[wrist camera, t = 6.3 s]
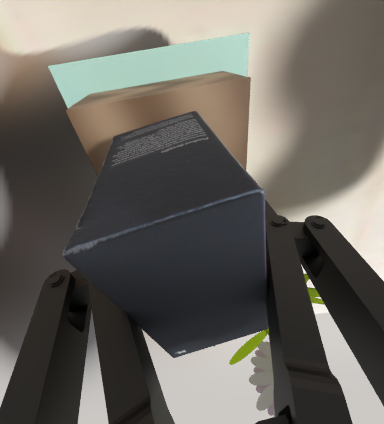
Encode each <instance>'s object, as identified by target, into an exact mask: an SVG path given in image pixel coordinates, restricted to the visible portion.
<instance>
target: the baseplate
mask: <svg viewBox="0 0 384 424" xmlns="http://www.w3.org/2000/svg"><path fill="white" fill-rule="evenodd" d="M248 47H249V33H244V34H238V35H232V36H226V37H220V38H214V39H208V40H202V41H196V42H190V43H184V44H178V45H172V46H166V47H160V48H154V49H148V50H142V51H136V52H130V53H124V54H118V55H112V56H106V57H100V58H94V59H88V60H82V61H75V62H70V63H63V64H57V65H51V66H48V68H49V70H50V72H51V74H52V76H53V78H54V80H55V82H56V84H57V87H58V89H59V91H60V93H61V95H62V97H63V99H64V101H65V103H66V106H67V108H70V107H71V106H73V105H74V104H76V103H77V102H79V101H80V100H82V99H83V98H84V97H86V96H87V95H89V94H92V93H98V92H104V91H110V90H115V89H121V88H127V87H133V86H138V85H144V84H150V83H156V82H161V81H167V80H173V79H179V78H184V77H190V76H196V75H202V74H207V73H213V72H219V71H226V72H230V73H234V74H238V75H242V76H246V77H247V73H248Z"/></svg>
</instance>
